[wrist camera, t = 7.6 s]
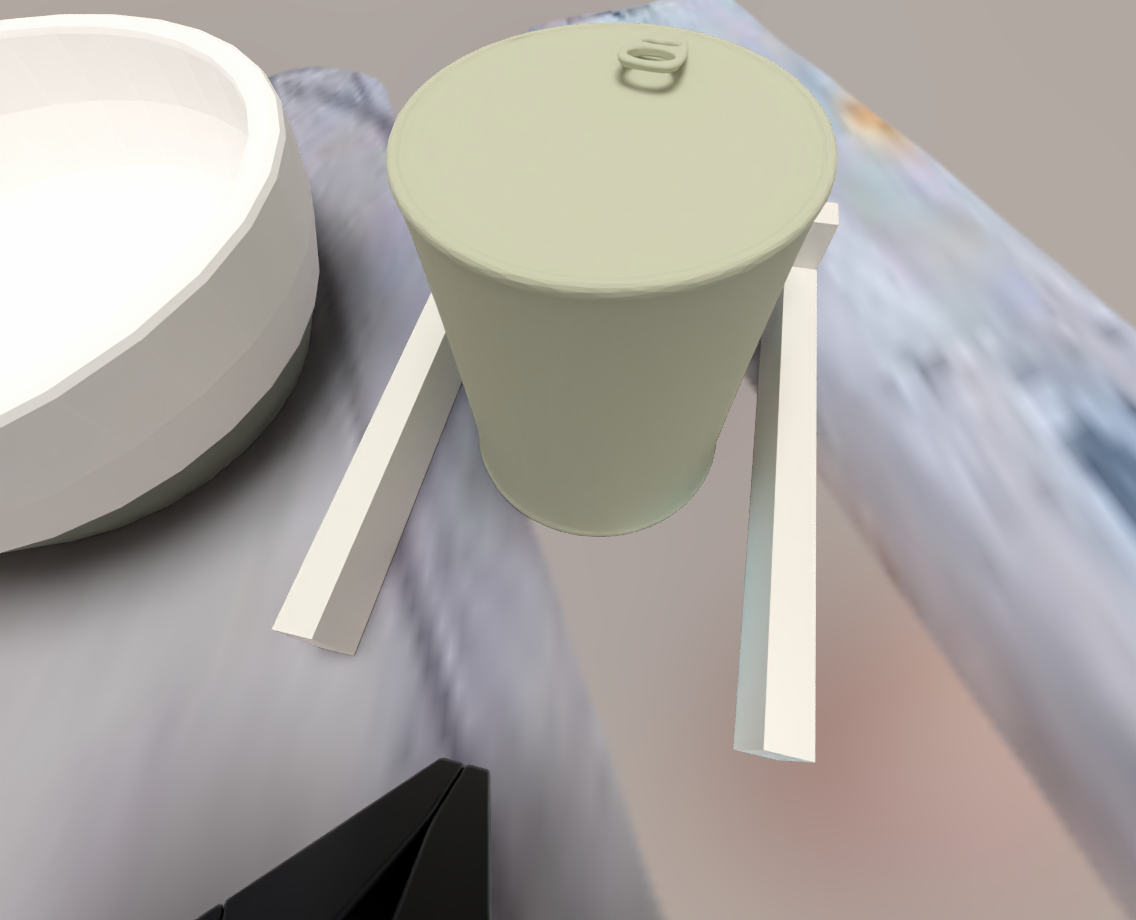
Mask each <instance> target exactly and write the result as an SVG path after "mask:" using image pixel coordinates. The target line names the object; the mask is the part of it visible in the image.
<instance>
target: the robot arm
mask: <svg viewBox="0 0 1136 920" xmlns="http://www.w3.org/2000/svg"><path fill="white" fill-rule="evenodd" d="M195 920H491V811H490V772H489V770H487V769H484V768H481V767H477V766H473V765H467V766H464V764H463V763H462V762H458V761H455V760H451V759H447V758H440V759H438V760H436V761H435V762H433V763H432V764H430V765H429V766H427V767H426V768H424V769H423V770H421V771H420V772H418V773H417V774H415V775H414V776H412V777H411V778H409V779H408V780H406V781H405V782H403V783H402V784H400V785H399V786H397V787H396V788H394V789H393V790H391V791H390V792H388V793H387V794H385V795H384V796H382V797H381V798H379V799H378V800H376V801H375V802H373V803H372V804H370V805H369V806H367V807H366V808H364V809H363V810H361V811H360V812H358V813H357V814H355V815H354V816H352V817H351V818H349V819H348V820H346V821H345V822H343V823H342V824H340V825H339V826H337V827H336V828H334V829H333V830H331V831H330V832H328V833H327V834H325V835H323V836H322V837H320V838H319V839H317V840H316V841H314V842H313V843H311V844H310V845H308V846H307V847H305V848H304V849H302V850H301V851H299V852H298V853H296V854H295V855H293V856H292V857H290V858H289V859H287V860H286V861H284V862H283V863H281V864H280V865H278V866H277V867H275V868H274V869H272V870H271V871H269V872H268V873H266V874H265V875H263V876H262V877H260V878H259V879H257V880H256V881H254V882H253V883H251V884H250V885H248V886H247V887H245V888H244V889H242V890H241V891H239V892H238V893H236V894H235V895H233V896H232V897H230V898H229V899H227V900H226V901H225V903H224V908H223V905H222V904H218V905H216V906H215V907H213V908H212V909H210V910H209V911H207V912H206V913H204V914H203V915H201V916H200V917H198V918H197V919H195Z"/></svg>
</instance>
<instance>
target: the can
mask: <svg viewBox="0 0 1136 920" xmlns="http://www.w3.org/2000/svg"><path fill="white" fill-rule="evenodd" d="M386 167H387V175H388V181H389V184H390V188H391V191H392V194H393V197H394V199H395V201H396V203H397V205H398V207H399V209H400V211H401V212H402V214H403V216H404V219H405V221H406V223H407V226H408V228H409V231H410V234H411V236H412V239H413V242H414V244H415V247H416V250H417V252H418V255H419V258H420V261H421V264H422V267H423V269H424V272H425V275H426V278H427V281H428V284H429V286H430V289H431V292H432V295H433V298H434V301H435V303H436V306H437V309H438V312H439V315H440V318H441V320H442V323H443V326H444V329H445V332H446V335H447V338H448V341H449V344H450V347H451V350H452V353H453V356H454V359H455V362H456V365H457V367H458V370H459V373H460V376H461V379H462V382H463V385H464V388H465V391H466V394H467V397H468V401H469V404H470V407H471V410H472V413H473V416H474V419H475V422H476V425H477V428H478V432H479V441H480V449H481V454H482V458H483V461H484V464H485V467H486V469H487V471H488V473H489V475H490V477H491V479H492V481H493V482H494V484H495V485H496V487H497V489H498V490H499V491H500V492H501V494H502V495H503V496H504V497H505V498H506V499H507V500H508V501H509V502H510V503H511V504H512V505H513V506H514V507H515V508H517V509H518V510H519V511H520V512H522V513H523V514H525V515H526V516H528V517H529V518H531V519H533V520H534V521H536V522H538V523H541V524H543V525H545V526H547V527H550V528H552V529H555V530H558V531H561V532H566V533H570V534H575V535H580V536H593V537H605V536H616V535H624V534H628V533H633V532H636V531H639V530H642V529H645V528H648V527H651V526H652V525H655V524H657V523H659V522H661V521H663V520H665V519H666V518H668V517H669V516H671V515H673V514H674V513H675V512H677V511H678V510H679V509H680V508H681V507H683V506H684V505H685V504H686V503H687V502H688V501H689V500H690V499H691V498H692V497H693V496H694V494H695V493H696V492H697V491H698V489H699V488H700V486H701V485H702V483H703V482H704V480H705V478H706V476H707V474H708V472H709V470H710V467H711V465H712V462H713V458H714V454H715V449H716V442H717V439H718V437H719V434H720V432H721V429H722V427H723V424H724V422H725V419H726V417H727V414H728V412H729V410H730V407H731V405H732V402H733V400H734V398H735V396H736V393H737V391H738V389H739V386H740V384H741V382H742V379H743V377H744V375H745V372H746V370H747V368H748V365H749V363H750V361H751V359H752V356H753V354H754V352H755V349H756V347H757V345H758V342H759V340H760V338H761V335H762V333H763V331H764V329H765V326H766V324H767V322H768V320H769V317H770V315H771V313H772V311H773V308H774V306H775V304H776V302H777V300H778V297H779V295H780V293H781V291H782V288H783V286H784V284H785V282H786V280H787V277H788V275H789V273H790V271H791V268H792V266H793V264H794V262H795V259H796V257H797V255H798V253H799V251H800V249H801V247H802V245H803V243H804V240H805V238H806V236H807V234H808V232H809V230H810V228H811V226H812V224H813V222H814V220H815V219H816V217H817V216H818V215H819V213H820V212H821V210H822V208H823V207H824V205H825V203H826V201H827V199H828V197H829V195H830V192H831V189H832V186H833V183H834V180H835V174H836V168H837V145H836V140H835V136H834V133H833V129H832V126H831V123H830V121H829V119H828V118H827V116H826V114H825V112H824V110H823V108H822V107H821V105H820V104H819V103H818V101H817V100H816V99H815V97H814V96H813V95H812V94H811V92H810V91H809V90H808V89H807V88H806V87H804V86H803V85H802V84H801V83H800V82H799V81H798V80H797V79H796V78H795V77H794V76H792V75H791V74H790V73H788V72H787V71H785V70H784V69H783V68H781V67H780V66H778V65H777V64H775V63H773V62H772V61H770V60H769V59H767V58H765V57H763V56H761V55H759V54H757V53H755V52H753V51H751V50H749V49H747V48H745V47H742V46H740V45H737V44H735V43H732V42H729V41H726V40H723V39H720V38H717V37H714V36H710V35H707V34H703V33H699V32H695V31H691V30H686V29H680V28H674V27H667V26H661V25H652V24H640V23H588V24H575V25H567V26H560V27H553V28H547V29H543V30H538V31H533V32H528V33H524V34H521V35H517V36H514V37H510V38H507V39H504V40H501V41H499V42H496V43H493V44H490V45H488V46H485V47H483V48H480V49H478V50H476V51H474V52H472V53H470V54H468V55H466V56H464V57H461V58H460V59H458V60H457V61H455V62H453V63H452V64H450V65H448V66H447V67H445V68H443V69H442V70H441V71H439V72H438V73H437V74H435V75H434V76H433V77H431V78H430V79H429V80H428V81H427V82H425V83H424V84H423V85H422V86H421V87H420V88H419V89H418V90H417V91H416V92H415V93H414V94H413V95H412V97H411V98H410V99H409V100H408V101H407V103H406V104H405V106H404V107H403V109H402V110H401V111H400V113H399V115H398V117H397V119H396V121H395V123H394V126H393V128H392V131H391V134H390V136H389V141H388V146H387V151H386Z"/></svg>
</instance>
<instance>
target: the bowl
mask: <svg viewBox="0 0 1136 920" xmlns="http://www.w3.org/2000/svg"><path fill="white" fill-rule="evenodd" d="M318 278H319V260H318V249H317V238H316V227H315V216H314V207H313V201H312V194H311V188H310V182H309V176H308V173H307V170H306V167H305V165H304V162H303V159H302V157H301V154H300V151H299V148H298V146H297V143H296V140H295V137H294V135H293V132H292V129H291V126H290V124H289V121H288V118H287V116H286V113H285V110H284V107H283V105H282V102H281V100H280V98H279V97H278V95H277V93H276V91H275V90H274V88H273V86H272V84H271V83H270V81H269V79H268V77H267V76H266V74H265V73H264V72H263V71H262V70H261V69H260V68H259V67H258V66H257V65H256V64H254V63H253V62H252V61H251V60H250V59H249V58H247V57H246V56H245V55H244V54H243V53H242V52H240V51H239V50H238V49H237V48H236V47H235V46H233V45H231V44H229V43H227V42H225V41H222V40H220V39H218V38H216V37H214V36H212V35H210V34H208V33H205V32H204V31H201V30H199V29H195V28H191V27H187V26H183V25H179V24H175V23H171V22H167V21H163V20H160V19H150V18H141V17H132V16H124V15H114V14H78V15H77V14H71V15H70V14H65V15H64V14H61V15H51V16H41V17H29V18H18V19H7V20H0V553H6V552H11V551H17V550H23V549H29V548H34V547H40V546H46V545H52V544H59V543H66V542H74V541H77V540H80V539H84V538H87V537H91V536H94V535H98V534H101V533H104V532H108V531H111V530H115V529H118V528H122V527H124V526H126V525H128V524H130V523H133V522H135V521H137V520H139V519H141V518H144V517H146V516H148V515H150V514H153V513H155V512H157V511H159V510H161V509H164V508H166V507H168V506H170V505H171V504H173V503H174V502H176V501H178V500H179V499H181V498H182V497H184V496H186V495H187V494H189V493H190V492H192V491H194V490H195V489H197V488H198V487H200V486H202V485H203V484H205V483H206V482H208V481H210V480H211V479H212V478H213V477H215V476H216V475H217V474H218V473H219V472H221V471H222V470H223V469H224V468H225V467H227V466H228V465H229V464H230V463H231V462H233V461H234V460H235V459H236V458H237V457H239V456H240V455H241V454H242V453H243V452H245V451H246V450H247V449H248V448H249V447H250V446H251V444H252V443H253V442H254V441H255V440H256V439H257V438H258V437H259V435H260V434H261V433H262V432H263V431H264V430H265V429H266V428H267V426H268V425H269V424H270V423H271V422H272V421H273V420H274V419H275V418H276V416H277V414H278V413H279V411H280V410H281V408H282V406H283V405H284V403H285V402H286V400H287V399H288V397H289V395H290V394H291V392H292V391H293V389H294V387H295V386H296V384H297V381H298V379H299V376H300V373H301V371H302V368H303V366H304V363H305V360H306V358H307V355H308V350H309V342H310V335H311V328H312V323H311V322H312V315H313V309H314V307H315V300H316V293H317V285H318Z"/></svg>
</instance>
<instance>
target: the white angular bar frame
mask: <svg viewBox="0 0 1136 920" xmlns="http://www.w3.org/2000/svg"><path fill="white" fill-rule="evenodd" d="M838 225H839V223H838V203H830V202H826V203H825V205H824V207H823V208H822V210H821V212H820V213H819V215H818V216H817V217H816V219H815V220H814V222H813V224H812V226H811V228H810V230H809V232H808V234H807V236H806V238H805V240H804V243H803V245H802V247H801V249H800V251H799V253H798V255H797V257H796V259H795V262H794V264H793V266H792V268H791V271H790V273H789V275H788V277H787V280H786V282H785V284H784V286H783V288H782V291H781V293H780V295H779V297H778V300H777V302H776V304H775V306H774V308H773V311H772V313H771V315H770V317H769V320H768V322H767V324H766V326H765V329H764V331H763V333H762V335H761V347H760V362H759V377H758V391H757V406H756V422H755V436H754V450H753V465H752V480H751V495H750V509H749V525H748V539H747V554H746V568H745V583H744V598H743V612H742V627H741V642H740V657H739V672H738V687H737V702H736V716H735V731H734V746H733V749H734V750H737V751H741V752H745V753H749V754H753V755H757V756H761V757H765V758H769V759H774V760H784V761H800V762H815V626H816V623H815V622H816V621H815V620H816V616H815V615H816V609H815V608H816V355H817V268H818V266H819V264H820V262H821V260H822V258H823V256H824V254H825V252H826V250H827V248H828V246H829V244H830V242H831V239H832V237H833V235H834V233H835V231H836V229H837V227H838ZM461 383H462V379H461V376H460V373H459V370H458V367H457V365H456V362H455V359H454V356H453V353H452V350H451V347H450V344H449V341H448V338H447V335H446V332H445V329H444V326H443V323H442V320H441V318H440V315H439V312H438V309H437V306H436V303H435V301H434V298H433V295H432V292H431V294H430V297H429V299H428V301H427V303H426V305H425V307H424V309H423V311H422V313H421V315H420V318H419V320H418V322H417V324H416V326H415V328H414V330H413V332H412V334H411V337H410V339H409V341H408V343H407V345H406V347H405V349H404V351H403V353H402V356H401V358H400V360H399V362H398V364H397V366H396V368H395V370H394V372H393V375H392V377H391V379H390V381H389V383H388V385H387V387H386V389H385V391H384V393H383V396H382V398H381V400H380V402H379V404H378V406H377V408H376V410H375V412H374V415H373V417H372V419H371V421H370V423H369V425H368V427H367V429H366V431H365V434H364V436H363V438H362V440H361V442H360V444H359V446H358V448H357V450H356V452H355V455H354V457H353V459H352V461H351V463H350V465H349V467H348V469H347V471H346V474H345V476H344V478H343V480H342V482H341V484H340V486H339V488H338V490H337V493H336V495H335V497H334V499H333V501H332V503H331V505H330V507H329V509H328V512H327V514H326V516H325V518H324V520H323V522H322V524H321V526H320V528H319V530H318V533H317V535H316V537H315V539H314V541H313V543H312V545H311V547H310V549H309V552H308V554H307V556H306V558H305V560H304V562H303V564H302V566H301V568H300V571H299V573H298V575H297V577H296V579H295V581H294V583H293V585H292V587H291V590H290V592H289V594H288V596H287V598H286V600H285V602H284V604H283V606H282V608H281V611H280V613H279V615H278V617H277V619H276V621H275V623H274V625H273V627H272V630H275V631H277V632H280V633H282V634H285V635H288V636H290V637H293V638H296V639H298V640H301V641H303V642H306V643H309V644H311V645H314V646H317V647H319V648H323V649H327V650H331V651H335V652H339V653H343V654H347V655H351V656H354V654H355V652H356V649H357V647H358V644H359V642H360V639H361V637H362V634H363V631H364V629H365V626H366V624H367V621H368V619H369V616H370V614H371V611H372V609H373V606H374V604H375V601H376V599H377V596H378V593H379V591H380V588H381V586H382V583H383V581H384V578H385V576H386V573H387V571H388V568H389V566H390V563H391V560H392V558H393V555H394V553H395V550H396V548H397V545H398V543H399V540H400V538H401V535H402V533H403V530H404V527H405V525H406V522H407V520H408V517H409V515H410V512H411V510H412V507H413V505H414V502H415V500H416V497H417V494H418V492H419V489H420V487H421V484H422V482H423V479H424V477H425V474H426V472H427V469H428V467H429V464H430V462H431V459H432V456H433V454H434V451H435V449H436V446H437V444H438V441H439V439H440V436H441V434H442V431H443V429H444V426H445V423H446V421H447V418H448V416H449V413H450V411H451V408H452V406H453V403H454V401H455V398H456V396H457V393H458V390H459V388H460V385H461Z"/></svg>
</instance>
